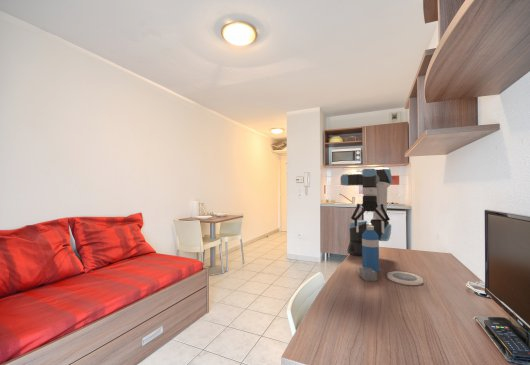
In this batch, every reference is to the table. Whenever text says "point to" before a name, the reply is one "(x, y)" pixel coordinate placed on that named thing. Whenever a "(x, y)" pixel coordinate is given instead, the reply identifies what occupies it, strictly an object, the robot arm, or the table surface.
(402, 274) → the cream plate
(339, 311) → the table surface
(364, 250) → the water bottle
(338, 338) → the table surface
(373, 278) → the box
